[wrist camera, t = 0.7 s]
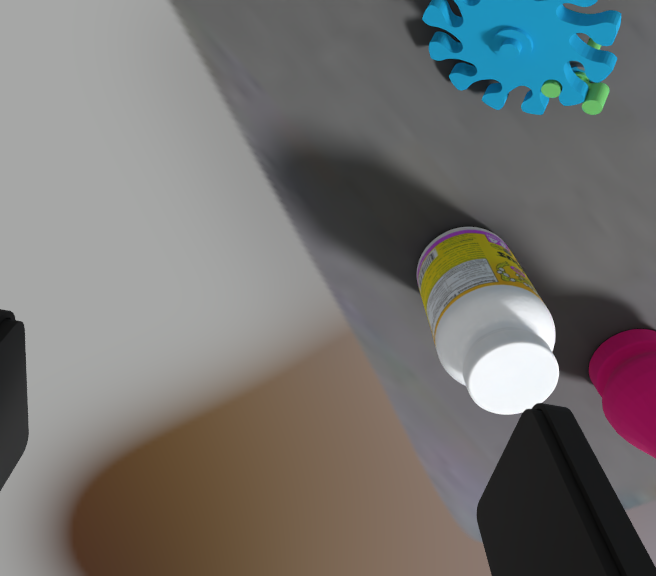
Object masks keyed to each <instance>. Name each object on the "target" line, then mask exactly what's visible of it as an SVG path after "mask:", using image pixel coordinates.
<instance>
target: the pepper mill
mask: <svg viewBox="0 0 656 576" xmlns="http://www.w3.org/2000/svg"><path fill="white" fill-rule="evenodd" d="M589 376H590V379H591V381H592V383H593V384H594V386H595V388H596V389H597V391H598V392H599V394H600V395H601V397H602V405H603V411H604V413H605V416H606V418H607V420H608V421H609V423H610V424H611V425H612V427H613V428H614V429H615V430H616V432H617V433H618V434H619V435H620V436H622V437H623V438H624V439H625V440H626V441H628V442H629V443H630V444H632V445H633V446H635V447H636V448H638V449H640V450H642V451H644V452H645V453H647V454H649V455H651V456H653V457H654V458H656V331H653V330H648V329H632V330H628V331H624V332H621V333H618V334H616V335H614V336H612V337H610V338H609V339H607V340H606V341H605V342H604V343H602V344H601V345H600V346H599V348H598V349H597V350H596V351H595V352H594V354H593V356H592V358H591V360H590V364H589Z"/></svg>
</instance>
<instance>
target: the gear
mask: <svg viewBox="0 0 656 576" xmlns="http://www.w3.org/2000/svg"><path fill="white" fill-rule="evenodd" d="M454 1H455V3H456V4H457V5H458V7H459V9H460V11H461V14H462V17H459V16H456V15H455V14H454V13H453V12H452V11H451V8H450V5H449V3H448V1H447V0H431V2H430V3H429V5H428V7H427V9H426V11H425V13H424V15H423V18H422V20H423V21H424V22H425V23H426V24H428V25H430V26H434V27H439V28H442V29H444V30H447V31H448V32H450V33H451V34H453V35H454V36H455V37H456V38H457V39H458V40H460V42H461V43H459V42H456V41H455V40H454V39H452V38H451V37H450V36H449V35H448V34H446V33H444V32H435V34H434V36H433V38H432V39H431V41H430V44H429V52H430V56H431V58H432V59H434V60H437V61H441V60H445V59H460V60H464V61H467V62H469V63H472V64H473V65H475V66H471V65H469V64H466V63H457V64H456V65H455V66H454V67H453V69H452V71H451V73H450V75H449V78H450V80H451V82H452V83H453V85H454V86H455V87H456V88H457V89H458V90H465V89H467V88H468V87H469V86H470V85H471V84H472V83H474V82H476V81H479V80H486V79H494V80H497V81H498V82H500V83H492V84H490V85H489V86H488V87H487V89H486V91H485V93H484V95H483V98H482V101H483V102H484V103H486V104H487V105H489V106H490V107H492V108H494V109H496V110H499V109H501V108H502V107H503V106H504V104H505V101H506V99H507V97H508V95H509V92H510V91H511V90H512V89H514V88H516V87H518V86H526V87H528V88H530V89H531V90H530V91H529V92H528V93H527V94H526V96H525V99H524V101H523V103H522V105H521V108H522V110H523V111H524V112H526V113H530V114H537V115H542V114H543V113H544V111H545V109H546V106H547V104H548V102H549V98H555V97H558V96H559V101H560V102H561V103H562V104H563V105H564V106H571V105H576V104H579V103H582V102H583V104H582V109H583V111H584V112H586V113H588V114H592V115H595V114H598V113H600V112H601V111H602V109H603V106H604V104H605V101H606V99H607V96H608V93H609V87H608V86H607V85H606V84H604V83H601V81H602V80H604V79H605V78H606V77H607V76H608V75H609V74H610V73H611V72H612V71H613V68H614V66H615V63H616V61H617V57H616V56H615V55H614V54H613V53H611V52H608V51H602V50H599V49H600V47H601V45H602V46H609V45H612V43H613V42H614V40H615V37H616V35H617V32H618V30H619V27H620V23H621V13H620V12H617V11H613V10H609V11H605V12H602V13H596V14H583V13H579V12H575V11H572V10H569V9H567V8H565V7H564V6H563V3H571V4H574V5H577V6H581V7H588V6H591V5H593V4H595V3H596V2H597V0H454ZM576 33H585V34H587V35H588V36H589V37H590V39H589V41H588V43H587V44H586V43H585V42H583V41H582V40H581V39H580V38H579V37H578V36H577V35H576ZM595 82H596V83H595Z"/></svg>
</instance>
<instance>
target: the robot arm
mask: <svg viewBox="0 0 656 576" xmlns="http://www.w3.org/2000/svg"><path fill="white" fill-rule="evenodd" d="M26 379H27V378H26V353H25V329H24V324H23V322H21V321H16V320H15V316H14V314H13V313H12V312H11V311H6V310H1V309H0V491H1V489H2V487H3V486H4V484H5V482H6V481H7V479H8V478H9V476H10V474H11V473H12V471H13V469H14V468H15V466H16V464H17V463H18V461H19V459H20V458H21V456H22V454H23V452H24V450H25V447H26V445H27V441H28V434H29V432H28V431H29V430H28V405H27V380H26ZM477 522H478V526H479V529H480V533H481V537H482V541H483V544H484V548H485V552H486V556H487V559H488V563H489V566H490V570H491V574H492V576H656V567H655V566H654V564H653V562H652V560H651V558H650V556H649V554H648V553H647V551H646V549H645V547H644V545H643V544H642V542H641V540H640V538H639V536H638V534H637V532H636V530H635V529H634V527H633V525H632V523H631V521H630V519H629V517H628V516H627V514H626V512H625V510H624V508H623V506H622V504H621V503H620V501H619V499H618V497H617V495H616V493H615V491H614V490H613V488H612V486H611V484H610V482H609V480H608V478H607V477H606V475H605V473H604V471H603V469H602V467H601V465H600V464H599V462H598V460H597V458H596V456H595V454H594V452H593V451H592V449H591V447H590V445H589V443H588V441H587V439H586V438H585V436H584V434H583V432H582V430H581V428H580V426H579V425H578V423H577V421H576V419H575V417H574V415H573V414H572V412H571V411H570V409H568V408H566V407H560V406H555V405H549V404H543V403H537V404H535V405H534V406H533V407H532V409H526V410H525V411H524V412H523V413H522V415H521V417H520V419H519V421H518V423H517V425H516V427H515V429H514V431H513V433H512V435H511V438H510V440H509V442H508V444H507V446H506V448H505V450H504V452H503V454H502V456H501V458H500V460H499V462H498V464H497V466H496V468H495V470H494V472H493V474H492V476H491V478H490V480H489V482H488V484H487V486H486V488H485V490H484V492H483V494H482V497H481V499H480V501H479V503H478V507H477Z"/></svg>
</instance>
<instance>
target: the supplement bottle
mask: <svg viewBox="0 0 656 576" xmlns="http://www.w3.org/2000/svg"><path fill="white" fill-rule="evenodd" d="M417 283H418V287H419V290H420V294H421V297H422V301H423V304H424V308H425V311H426V315H427V318H428V322H429V325H430V328H431V332H432V335H433V339H434V343H435V346H436V350H437V353H438V356H439V359H440V361H441V364H442V365H443V367H444V368H445V370H446V371H447V372H448V373H449V375H451V376H452V377H453V378H454V379H455V380H456V381H458V382H460V383H461V384H463V385H465V386H467V389H468V392H469V394H470V396H471V397H472V399H473V400H474V402H475V403H476V404H477V405H479V406H480V407H481V408H483V409H485V410H487V411H489V412H493V413H497V414H517V413H521V412H524V411H525V410H526V409H532V407H533V406H534V405H535V404H537V403H542V402H543V401H544V400H545V399H546V398H548V397H549V395H550V394H551V393H552V392H553V390H554V388H555V387H556V384H557V381H558V377H559V367H558V363H557V360H556V358H555V356H554V355H553V353H552V351H553V348H554V344H555V325H554V321H553V318H552V316H551V314H550V312H549V310H548V309H547V307H546V305H545V304H544V302H543V301H542V299H541V298H540V296H539V295H538V293H537V291H536V290H535V288H534V287H533V285H532V283H531V282H530V280H529V279H528V277H527V275H526V274H525V272H524V271H523V269H522V268H521V266H520V264H519V263H518V261H517V260H516V258H515V257H514V255H513V254H512V252H511V251H510V249H509V248H508V246H507V245H506V244H505V242H504V241H503V240H502V239H501V238H500V237H498V236H497V235H496V234H494V233H492V232H490V231H488V230H486V229H482V228H478V227H459V228H455V229H452V230H449V231H447V232H445V233H443V234H441V235H440V236H438V237H437V238H435V239H434V240H433V241H432V242H431V243H430V244H429V245H428V246H427V247H426V248H425V250H424V251H423V253H422V255H421V257H420V259H419V262H418V266H417Z"/></svg>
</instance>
